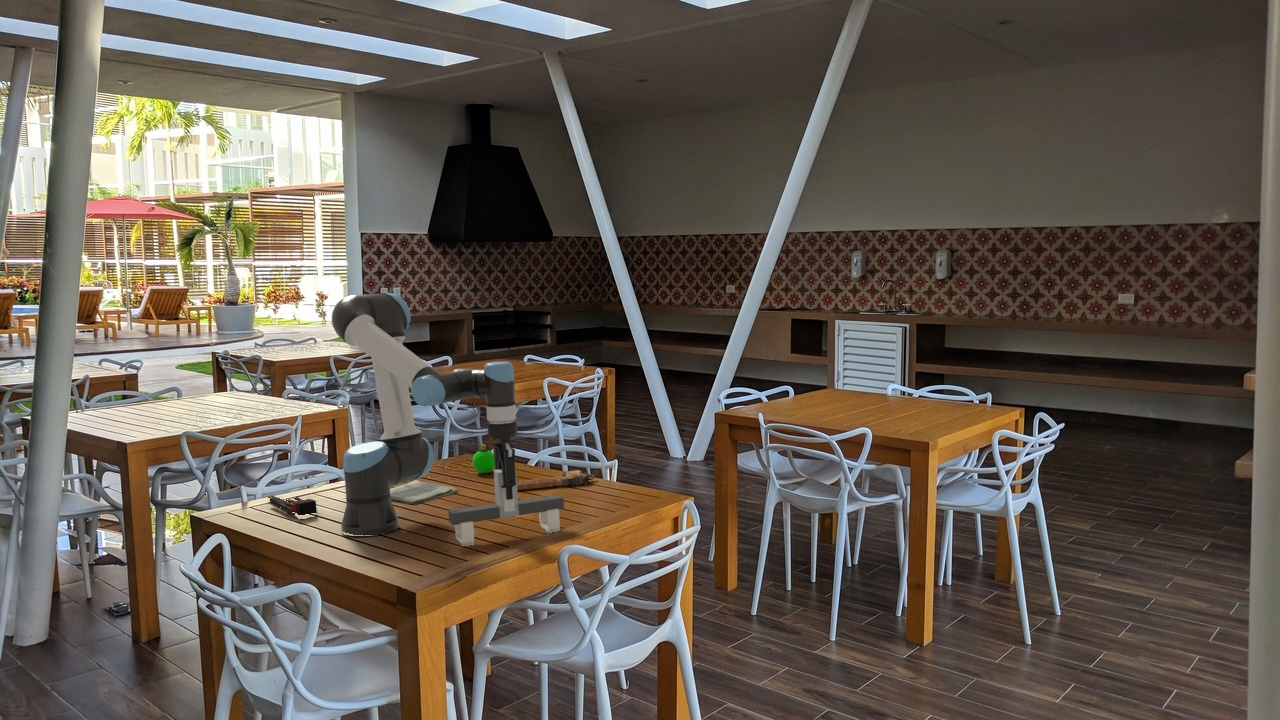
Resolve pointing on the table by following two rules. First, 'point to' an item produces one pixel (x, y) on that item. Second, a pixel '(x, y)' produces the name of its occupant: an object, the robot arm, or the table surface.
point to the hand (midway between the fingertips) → (506, 508)
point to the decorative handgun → (556, 480)
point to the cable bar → (498, 509)
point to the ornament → (483, 460)
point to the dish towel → (419, 492)
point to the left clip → (465, 533)
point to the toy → (295, 505)
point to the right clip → (550, 520)
